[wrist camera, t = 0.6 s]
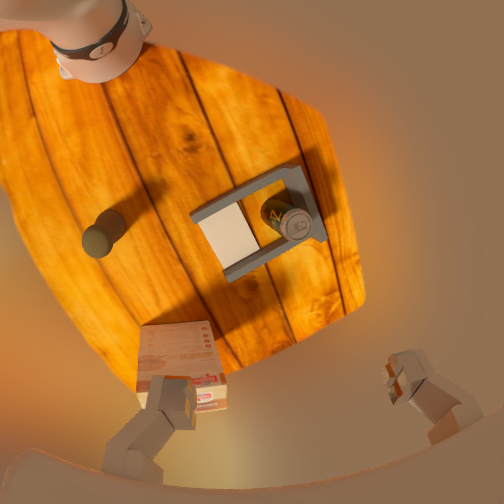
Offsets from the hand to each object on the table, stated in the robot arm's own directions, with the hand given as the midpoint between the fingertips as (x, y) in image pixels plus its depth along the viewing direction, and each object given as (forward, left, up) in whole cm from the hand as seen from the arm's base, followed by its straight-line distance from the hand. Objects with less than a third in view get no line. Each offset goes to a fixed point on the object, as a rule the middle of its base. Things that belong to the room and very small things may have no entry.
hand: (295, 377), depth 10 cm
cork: (-4, -16, -43) cm, 46 cm away
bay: (+9, +8, -42) cm, 44 cm away
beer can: (+9, +12, -43) cm, 45 cm away
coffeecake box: (+23, -18, -43) cm, 52 cm away
